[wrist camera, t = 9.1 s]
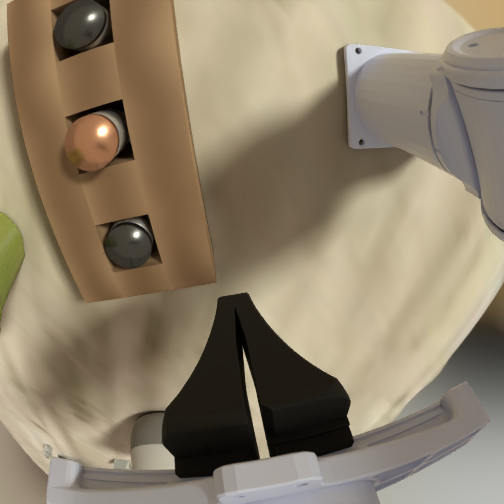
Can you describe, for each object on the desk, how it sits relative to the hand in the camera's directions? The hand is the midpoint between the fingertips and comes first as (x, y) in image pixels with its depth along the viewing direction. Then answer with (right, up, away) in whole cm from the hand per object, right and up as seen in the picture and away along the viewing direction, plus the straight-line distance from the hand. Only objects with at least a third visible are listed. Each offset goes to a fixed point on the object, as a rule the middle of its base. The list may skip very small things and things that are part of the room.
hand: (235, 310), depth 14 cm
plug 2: (-8, +5, +7) cm, 11 cm away
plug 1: (-9, +17, 0) cm, 19 cm away
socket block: (-8, +11, +4) cm, 14 cm away
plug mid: (-8, +10, +2) cm, 13 cm away
